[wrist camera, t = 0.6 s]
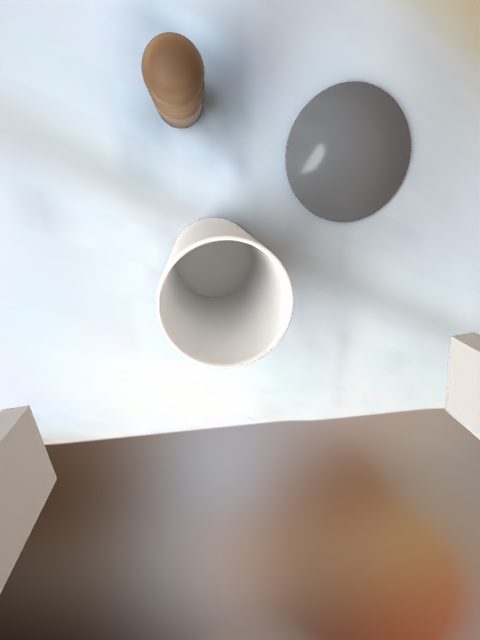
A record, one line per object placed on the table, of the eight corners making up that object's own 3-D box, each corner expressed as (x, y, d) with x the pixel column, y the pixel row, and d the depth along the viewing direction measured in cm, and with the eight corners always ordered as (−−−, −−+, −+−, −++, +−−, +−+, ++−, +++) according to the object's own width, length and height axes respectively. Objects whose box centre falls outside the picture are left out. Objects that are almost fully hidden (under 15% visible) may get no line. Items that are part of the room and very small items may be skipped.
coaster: (280, 91, 32) (281, 89, 31) (409, 76, 33) (413, 74, 32) (290, 228, 36) (291, 229, 35) (404, 213, 37) (407, 213, 36)
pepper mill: (151, 78, 30) (130, 23, 21) (198, 73, 31) (199, 16, 21) (160, 130, 32) (144, 102, 22) (205, 125, 32) (209, 95, 22)
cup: (265, 232, 36) (315, 260, 21) (239, 308, 38) (267, 382, 23) (185, 205, 34) (176, 215, 19) (163, 286, 36) (140, 351, 21)
